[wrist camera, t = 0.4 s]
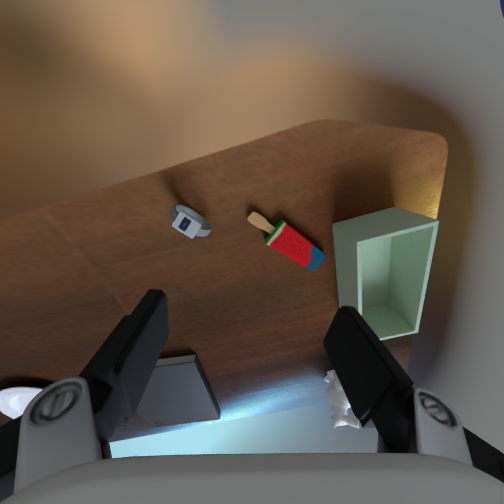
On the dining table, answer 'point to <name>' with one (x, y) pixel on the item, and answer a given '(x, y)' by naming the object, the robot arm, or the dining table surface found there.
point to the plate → (17, 399)
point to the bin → (385, 267)
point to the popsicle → (289, 242)
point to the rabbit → (338, 402)
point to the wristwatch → (189, 221)
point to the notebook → (178, 393)
